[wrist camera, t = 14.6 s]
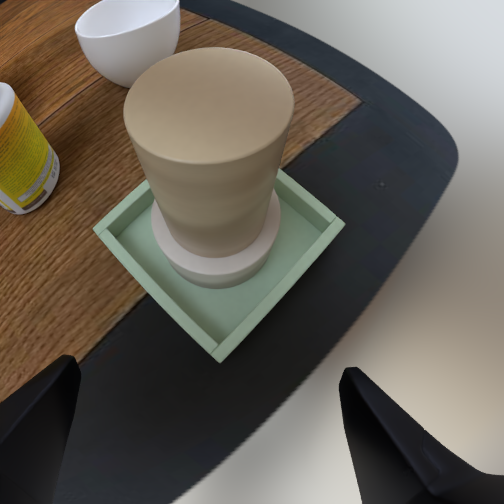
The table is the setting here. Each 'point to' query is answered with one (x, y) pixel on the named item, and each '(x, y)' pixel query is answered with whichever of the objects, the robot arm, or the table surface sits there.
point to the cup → (128, 36)
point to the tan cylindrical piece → (212, 159)
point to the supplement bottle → (23, 158)
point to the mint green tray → (230, 299)
